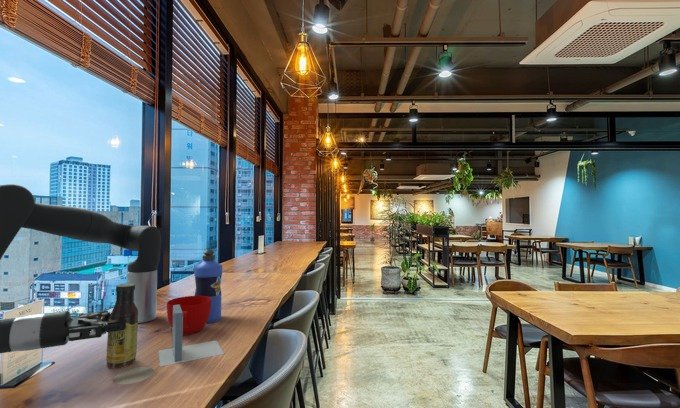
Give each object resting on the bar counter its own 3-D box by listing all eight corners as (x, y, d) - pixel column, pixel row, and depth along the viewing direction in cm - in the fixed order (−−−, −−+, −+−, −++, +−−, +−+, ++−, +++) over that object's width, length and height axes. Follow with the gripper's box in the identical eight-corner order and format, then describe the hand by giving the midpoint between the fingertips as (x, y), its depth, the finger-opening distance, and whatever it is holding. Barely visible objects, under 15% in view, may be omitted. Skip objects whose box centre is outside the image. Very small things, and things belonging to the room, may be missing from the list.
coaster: (105, 380, 75) (105, 378, 75) (141, 366, 82) (141, 364, 82) (125, 389, 71) (125, 387, 71) (161, 374, 78) (161, 372, 78)
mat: (160, 368, 82) (160, 366, 82) (158, 352, 91) (158, 350, 91) (224, 355, 89) (224, 353, 89) (216, 341, 99) (216, 340, 99)
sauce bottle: (99, 368, 81) (102, 286, 82) (123, 358, 87) (125, 281, 88) (120, 372, 79) (122, 287, 80) (143, 361, 85) (144, 282, 86)
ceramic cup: (157, 346, 95) (158, 310, 95) (171, 327, 111) (171, 296, 111) (206, 342, 98) (207, 307, 99) (212, 324, 115) (213, 294, 115)
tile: (174, 361, 84) (175, 313, 84) (172, 349, 92) (172, 305, 92) (182, 360, 85) (183, 312, 85) (179, 348, 93) (180, 304, 93)
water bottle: (226, 316, 124) (227, 248, 124) (214, 324, 114) (215, 250, 115) (201, 315, 125) (203, 247, 125) (188, 323, 115) (189, 250, 116)
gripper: (33, 323, 70) (125, 311, 78) (50, 306, 82) (128, 298, 90) (32, 359, 70) (125, 344, 78) (49, 337, 82) (127, 326, 90)
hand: (126, 319), depth 84 cm, fingers open, 8 cm apart
